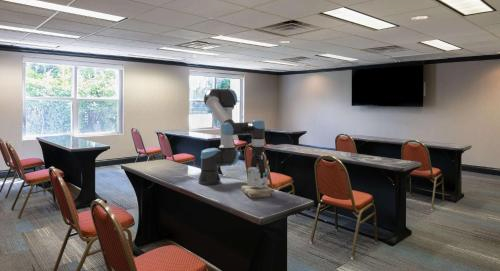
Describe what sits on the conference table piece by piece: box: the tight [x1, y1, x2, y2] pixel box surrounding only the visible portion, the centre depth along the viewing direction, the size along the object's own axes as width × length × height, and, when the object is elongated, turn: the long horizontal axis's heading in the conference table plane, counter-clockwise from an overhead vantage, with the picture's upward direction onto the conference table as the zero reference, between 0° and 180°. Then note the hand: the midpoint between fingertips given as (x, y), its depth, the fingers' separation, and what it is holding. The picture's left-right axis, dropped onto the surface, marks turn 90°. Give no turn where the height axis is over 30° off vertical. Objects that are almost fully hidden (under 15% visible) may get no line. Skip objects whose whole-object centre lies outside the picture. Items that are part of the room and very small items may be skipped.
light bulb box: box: [247, 166, 268, 188], centre depth 203 cm, size 11×7×11 cm, turn 55°
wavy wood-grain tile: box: [240, 184, 275, 199], centre depth 204 cm, size 16×16×4 cm
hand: (257, 181), depth 204 cm, fingers closed on light bulb box, 12 cm apart
